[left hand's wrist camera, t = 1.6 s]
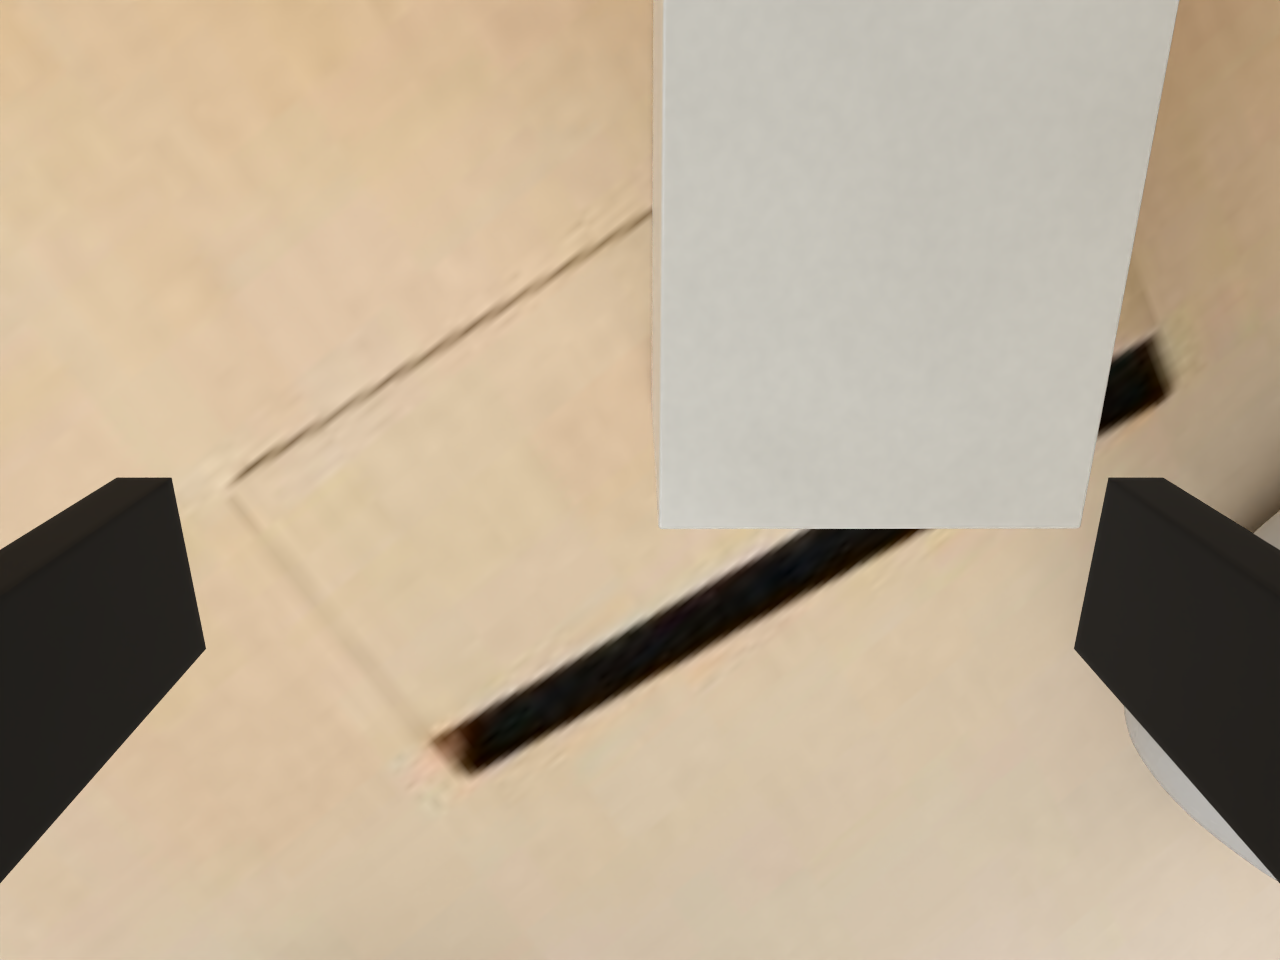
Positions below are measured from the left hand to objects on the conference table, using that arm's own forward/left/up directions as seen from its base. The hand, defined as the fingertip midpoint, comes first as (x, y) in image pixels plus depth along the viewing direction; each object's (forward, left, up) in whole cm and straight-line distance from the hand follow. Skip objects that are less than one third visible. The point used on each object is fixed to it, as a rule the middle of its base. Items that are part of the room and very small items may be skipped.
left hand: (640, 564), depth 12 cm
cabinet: (+6, -5, -20) cm, 21 cm away
